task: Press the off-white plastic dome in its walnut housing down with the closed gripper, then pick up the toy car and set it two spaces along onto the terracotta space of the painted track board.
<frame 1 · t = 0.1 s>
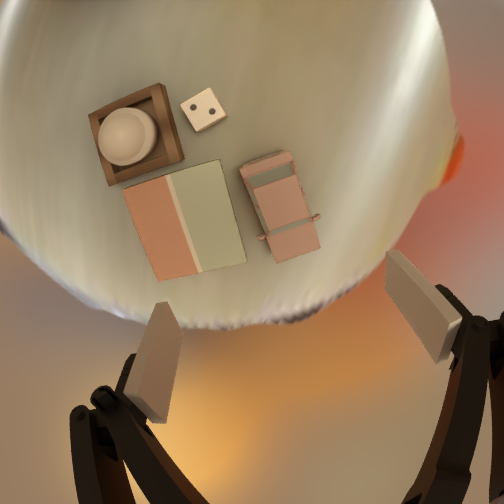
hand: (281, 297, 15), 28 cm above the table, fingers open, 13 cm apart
toy car: (278, 200, 42), on the table
die: (206, 111, 35), on the table
track board: (185, 224, 42), on the table
dome housing: (138, 134, 36), on the table
dome: (123, 136, 31), point 6 cm above the table, slide at 0.0 cm
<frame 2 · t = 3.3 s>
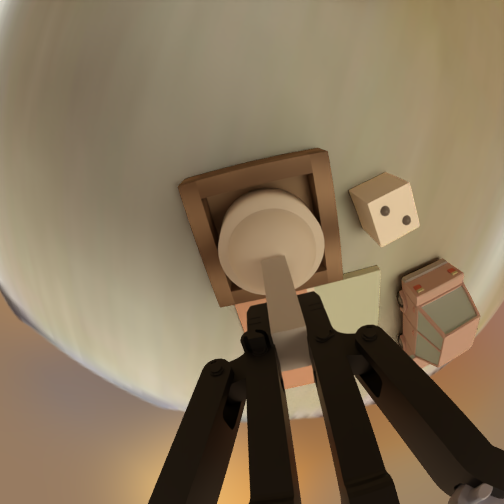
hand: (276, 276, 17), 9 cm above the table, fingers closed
toy car: (418, 306, 32), on the table
die: (374, 200, 25), on the table
track board: (315, 337, 32), on the table
dome housing: (266, 224, 25), on the table
dome: (272, 249, 20), point 5 cm above the table, slide at -0.2 cm, touching gripper
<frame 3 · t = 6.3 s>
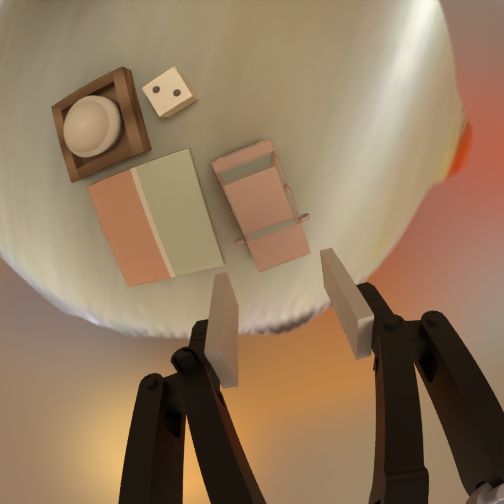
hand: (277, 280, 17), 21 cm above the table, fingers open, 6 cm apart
toy car: (261, 199, 36), on the table
die: (175, 95, 29), on the table
track board: (154, 223, 37), on the table
dome housing: (102, 125, 30), on the table
dome: (87, 126, 26), point 4 cm above the table, slide at -1.4 cm
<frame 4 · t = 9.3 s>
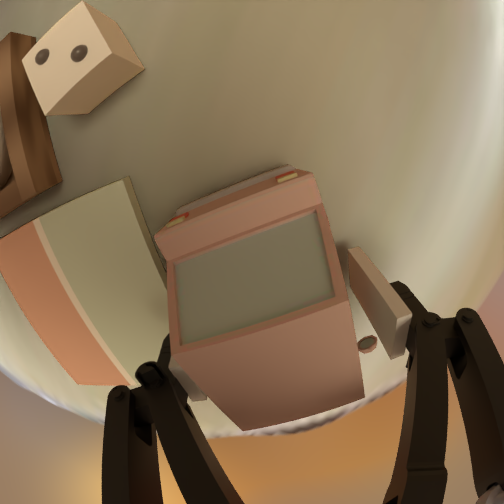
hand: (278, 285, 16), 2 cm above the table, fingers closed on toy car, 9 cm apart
toy car: (275, 283, 18), on the table, touching gripper
die: (100, 66, 11), on the table
track board: (89, 310, 19), on the table
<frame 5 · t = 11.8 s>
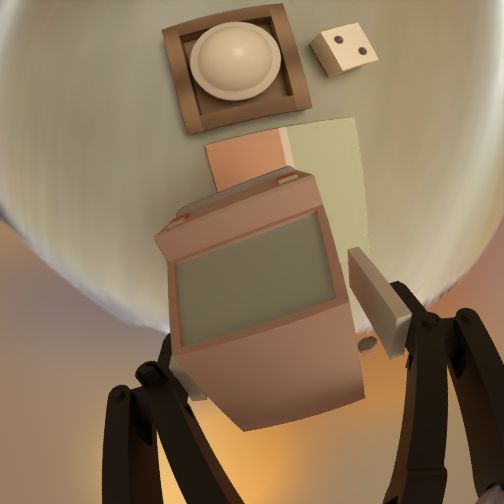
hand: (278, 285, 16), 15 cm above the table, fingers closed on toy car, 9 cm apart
toy car: (276, 284, 18), point 14 cm above the table, touching gripper
die: (336, 55, 22), on the table
track board: (296, 202, 30), on the table
dome housing: (236, 68, 23), on the table
dome: (235, 58, 19), point 4 cm above the table, slide at -1.4 cm
when the fingers open (4 cm above the table, at t = 14.4 s): toy car drops 1 cm, resting on track board.
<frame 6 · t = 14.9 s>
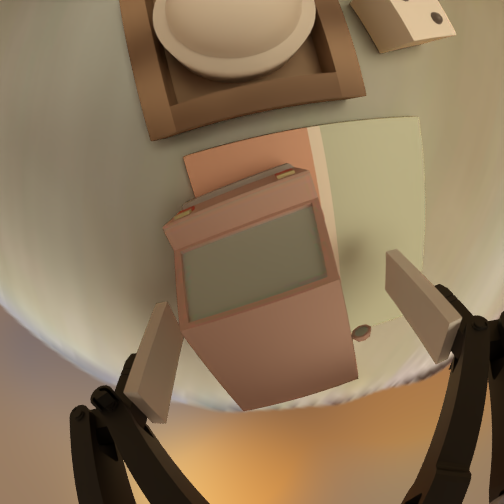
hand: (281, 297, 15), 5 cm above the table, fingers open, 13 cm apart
toy car: (275, 276, 19), point 1 cm above the table, touching track board
die: (387, 23, 12), on the table
track board: (328, 244, 19), on the table
dome housing: (235, 30, 13), on the table
dome: (233, 5, 9), point 4 cm above the table, slide at -1.4 cm
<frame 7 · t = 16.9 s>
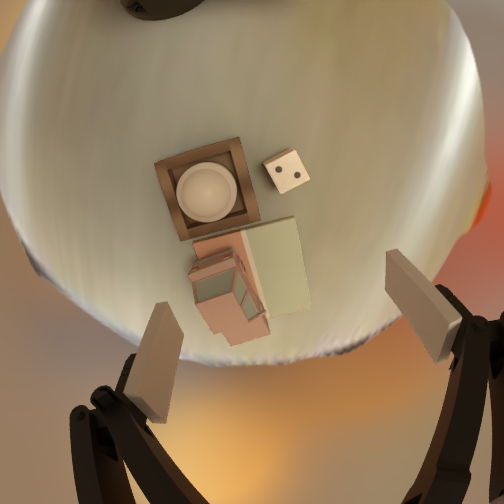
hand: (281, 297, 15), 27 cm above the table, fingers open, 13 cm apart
toy car: (232, 289, 45), point 1 cm above the table, touching track board
die: (283, 168, 38), on the table
track board: (256, 275, 45), on the table
dome housing: (209, 187, 39), on the table
dome: (206, 193, 35), point 4 cm above the table, slide at -1.4 cm
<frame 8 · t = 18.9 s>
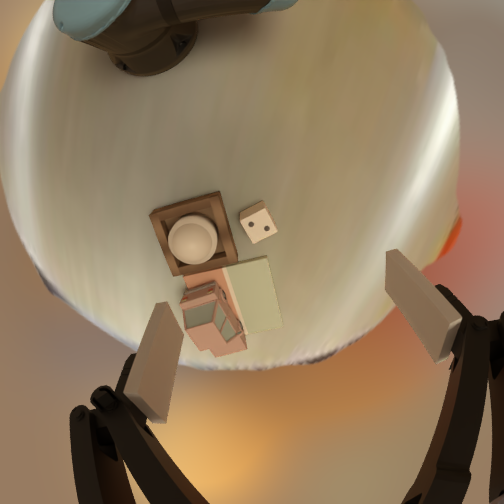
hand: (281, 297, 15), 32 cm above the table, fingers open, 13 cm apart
toy car: (216, 311, 54), point 1 cm above the table, touching track board
die: (257, 217, 46), on the table
track board: (236, 301, 54), on the table
dome housing: (196, 232, 47), on the table
dome: (192, 242, 43), point 4 cm above the table, slide at -1.4 cm
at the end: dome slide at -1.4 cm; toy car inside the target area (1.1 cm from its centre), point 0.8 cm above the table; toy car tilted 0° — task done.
